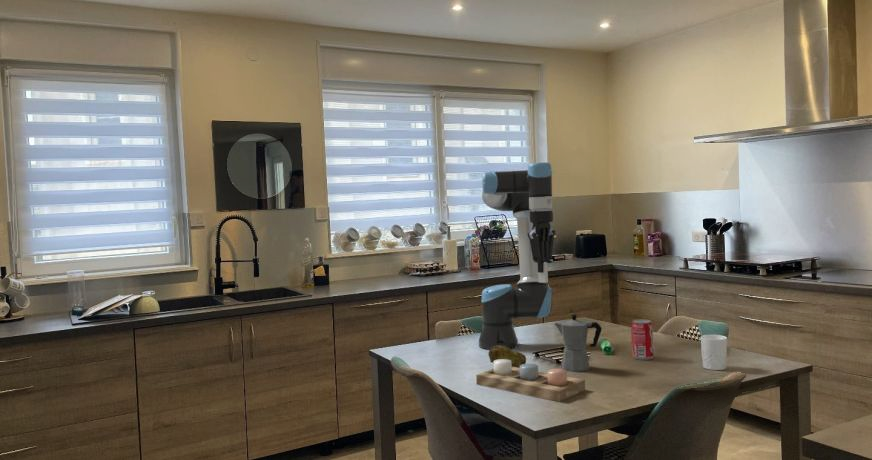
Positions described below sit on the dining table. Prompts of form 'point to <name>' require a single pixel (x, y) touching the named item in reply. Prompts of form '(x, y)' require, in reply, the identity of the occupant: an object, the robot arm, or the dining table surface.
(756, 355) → the dining table surface
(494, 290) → the robot arm
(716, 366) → the white cup
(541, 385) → the wooden egg rack
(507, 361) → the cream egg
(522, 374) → the slate egg
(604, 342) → the candy
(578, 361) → the coffeepot
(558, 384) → the pink egg
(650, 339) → the soda can
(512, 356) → the potato
